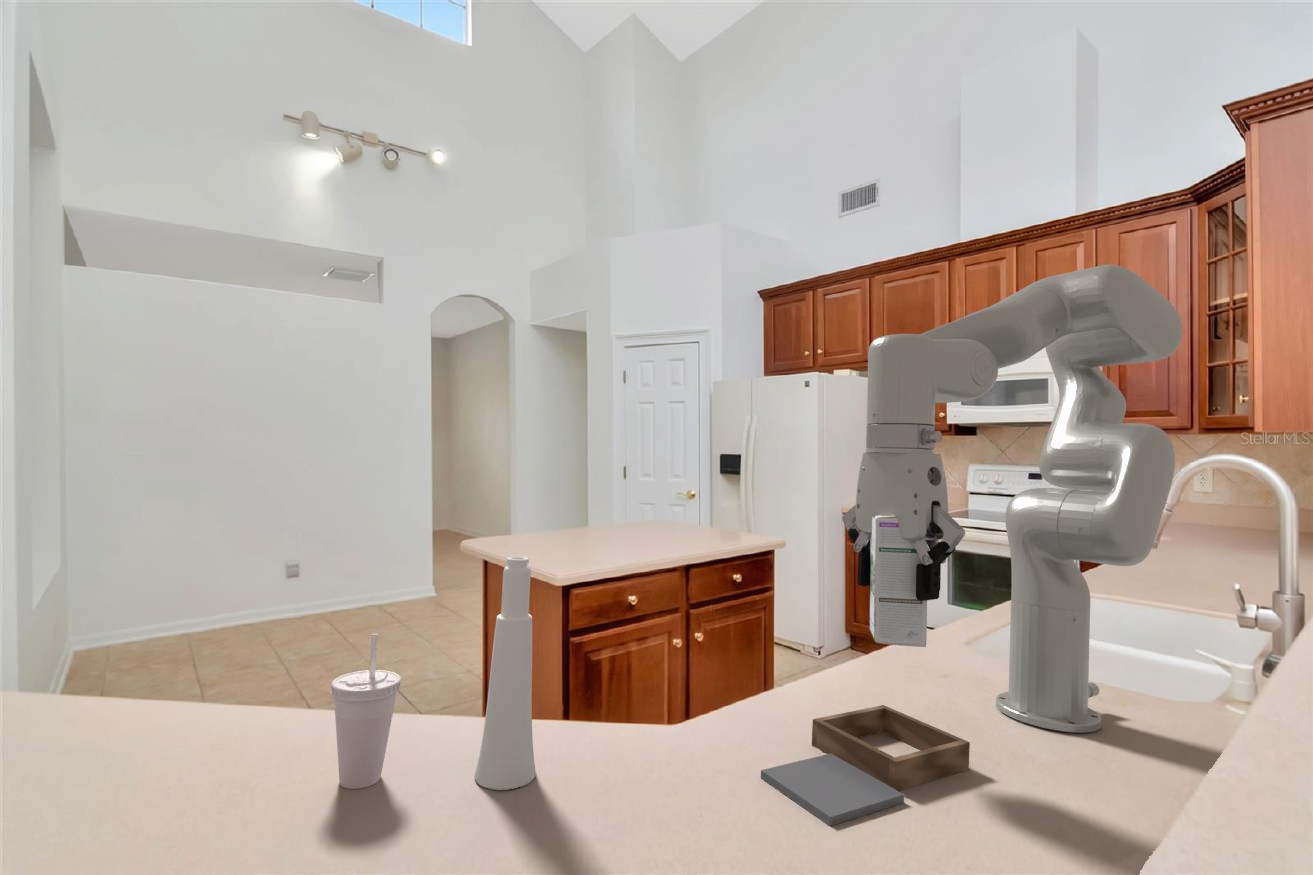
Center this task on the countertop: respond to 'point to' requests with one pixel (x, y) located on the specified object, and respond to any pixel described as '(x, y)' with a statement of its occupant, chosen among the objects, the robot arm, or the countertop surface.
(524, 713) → the cosmetic bottle
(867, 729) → the brown wooden square frame
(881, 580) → the syrup box
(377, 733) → the smoothie
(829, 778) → the plate
